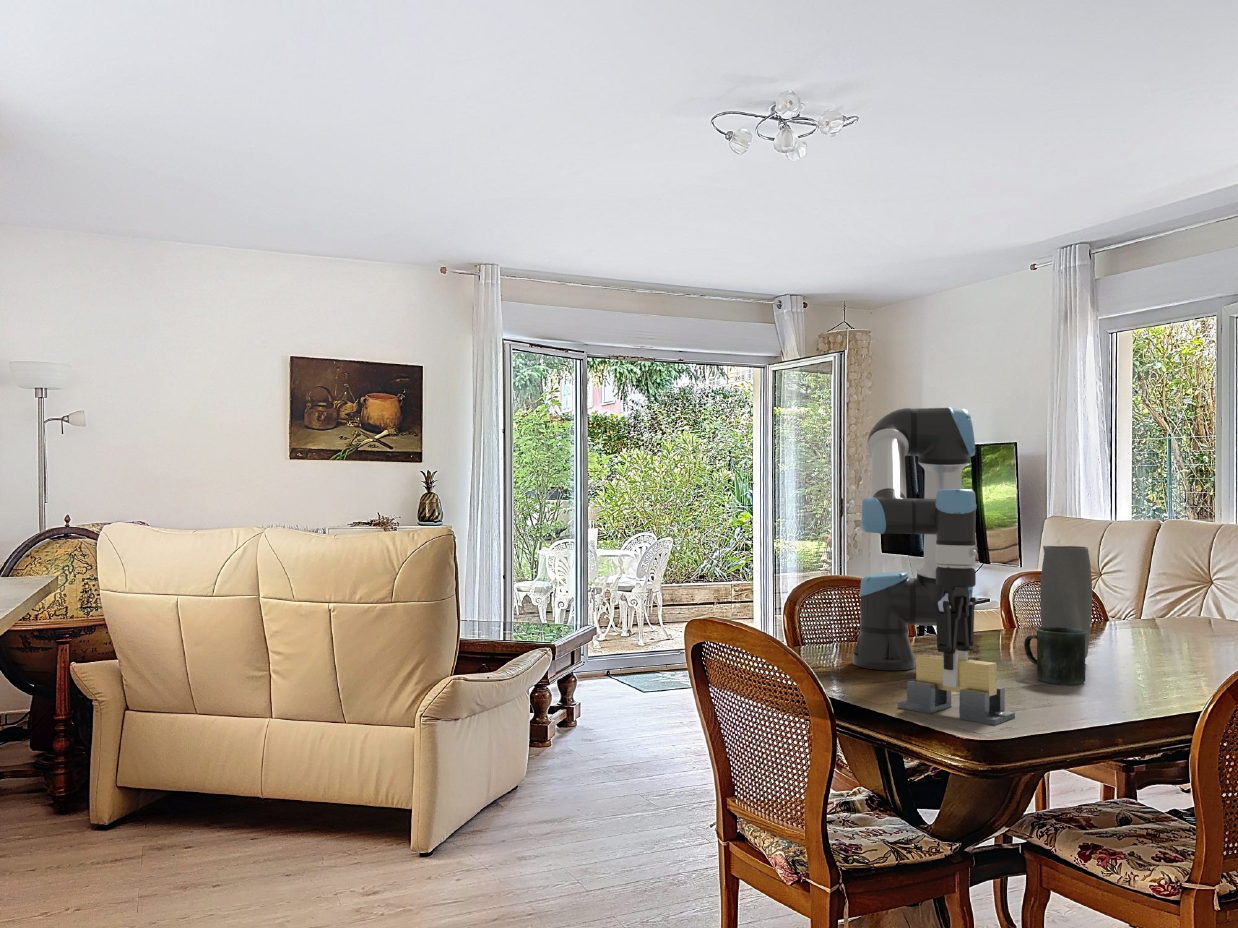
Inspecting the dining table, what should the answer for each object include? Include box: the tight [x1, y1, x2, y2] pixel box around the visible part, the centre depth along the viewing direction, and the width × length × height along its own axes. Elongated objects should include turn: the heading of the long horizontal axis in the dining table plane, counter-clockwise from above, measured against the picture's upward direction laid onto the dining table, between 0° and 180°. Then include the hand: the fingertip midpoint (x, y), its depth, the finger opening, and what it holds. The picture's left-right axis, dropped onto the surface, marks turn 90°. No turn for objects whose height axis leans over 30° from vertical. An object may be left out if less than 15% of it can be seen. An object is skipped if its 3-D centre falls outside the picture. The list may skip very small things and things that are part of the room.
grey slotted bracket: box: [897, 680, 952, 715], centre depth 198 cm, size 7×9×6 cm
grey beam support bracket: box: [958, 686, 1016, 726], centre depth 189 cm, size 7×9×6 cm
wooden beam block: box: [915, 653, 998, 696], centre depth 194 cm, size 15×4×6 cm, turn 46°
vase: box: [1039, 545, 1093, 659], centre depth 254 cm, size 12×12×30 cm
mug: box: [1023, 626, 1087, 686], centre depth 229 cm, size 11×15×12 cm
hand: (955, 684), depth 194 cm, fingers closed on wooden beam block, 3 cm apart
